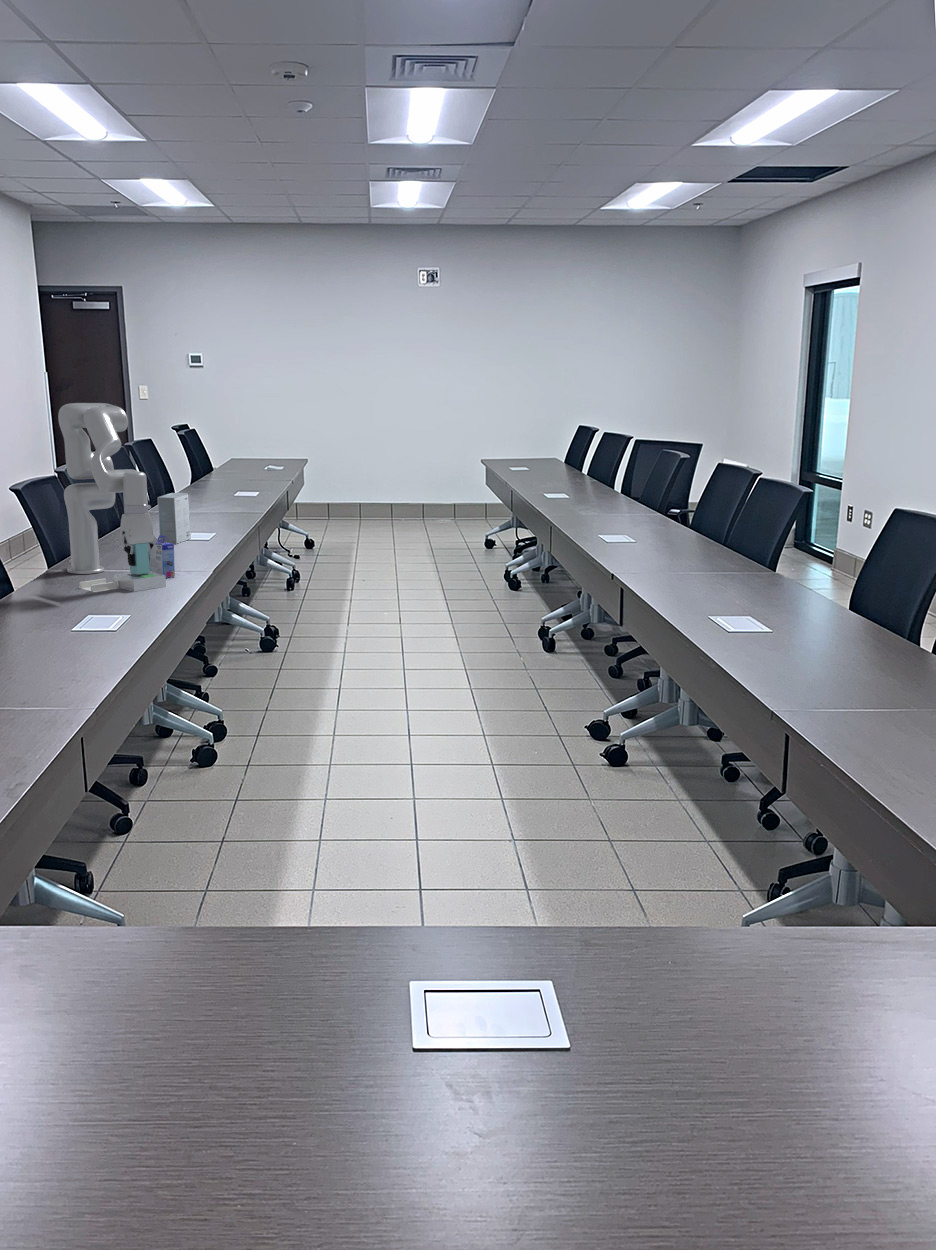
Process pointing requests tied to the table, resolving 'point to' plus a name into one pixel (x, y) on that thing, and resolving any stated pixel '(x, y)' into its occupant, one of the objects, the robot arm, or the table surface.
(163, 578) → the port
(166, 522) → the hard drive box
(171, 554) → the ink cartridge box
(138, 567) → the plug
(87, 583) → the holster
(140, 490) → the robot arm
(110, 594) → the table surface
